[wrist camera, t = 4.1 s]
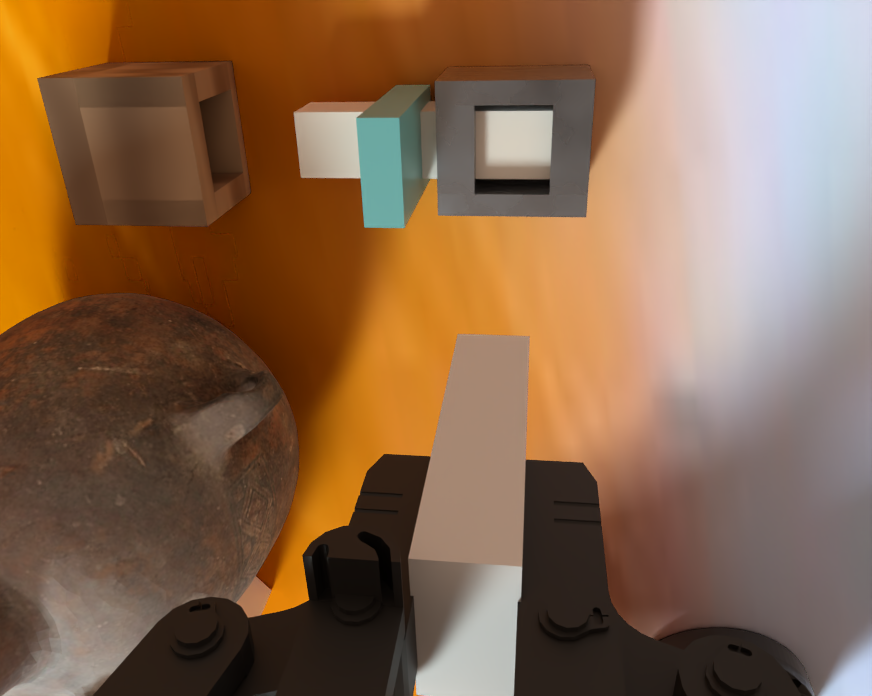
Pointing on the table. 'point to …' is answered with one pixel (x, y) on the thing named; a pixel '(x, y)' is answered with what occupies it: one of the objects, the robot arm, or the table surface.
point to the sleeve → (514, 86)
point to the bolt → (413, 147)
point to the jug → (128, 480)
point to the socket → (148, 142)
